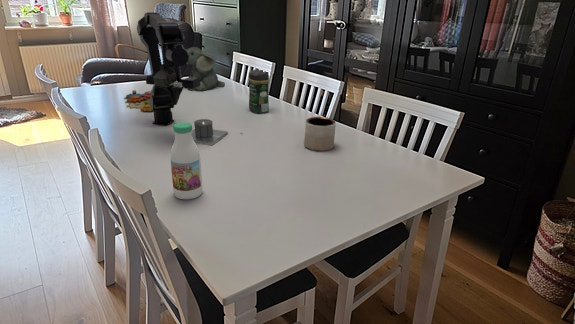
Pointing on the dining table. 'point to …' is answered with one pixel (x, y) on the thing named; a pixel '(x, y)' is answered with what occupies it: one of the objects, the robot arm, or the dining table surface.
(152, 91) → the robot arm
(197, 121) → the knob
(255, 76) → the coffee jar
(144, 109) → the gear puzzle
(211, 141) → the mounting plate
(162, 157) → the dining table surface
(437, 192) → the dining table surface
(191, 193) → the milk bottle
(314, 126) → the planter
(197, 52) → the stuffed elephant
